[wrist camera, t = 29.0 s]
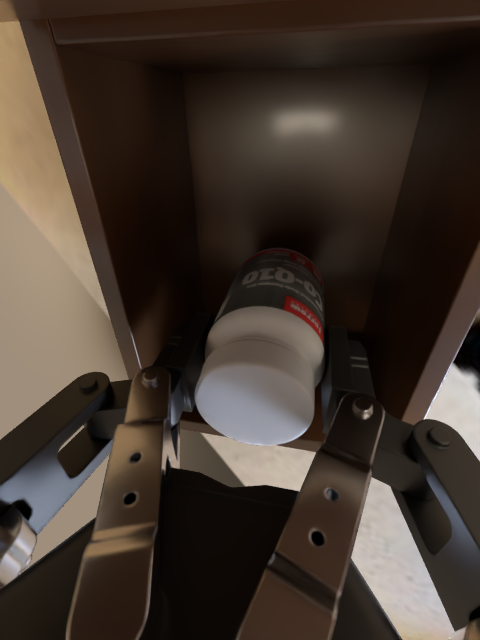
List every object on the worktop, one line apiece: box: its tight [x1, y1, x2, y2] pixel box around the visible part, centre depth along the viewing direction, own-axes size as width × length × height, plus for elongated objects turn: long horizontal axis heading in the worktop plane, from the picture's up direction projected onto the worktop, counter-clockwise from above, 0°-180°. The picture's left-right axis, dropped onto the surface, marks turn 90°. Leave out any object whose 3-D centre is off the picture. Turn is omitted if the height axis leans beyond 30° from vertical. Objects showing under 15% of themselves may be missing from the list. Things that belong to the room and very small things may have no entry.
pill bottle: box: [195, 248, 326, 446], centre depth 14 cm, size 5×5×8 cm
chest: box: [19, 0, 480, 452], centre depth 15 cm, size 16×13×10 cm
